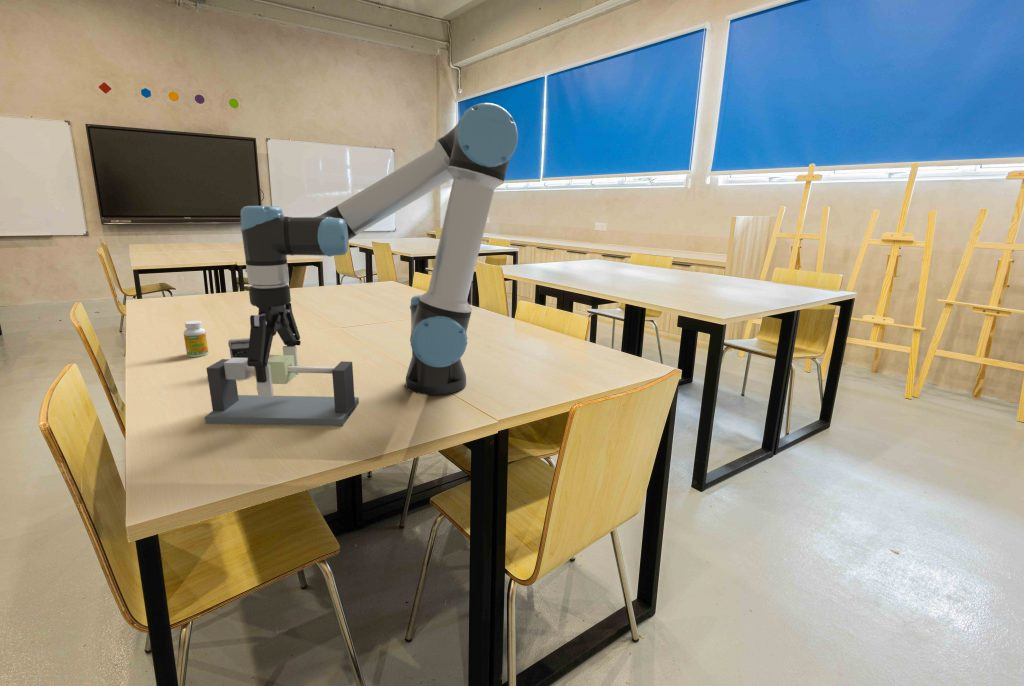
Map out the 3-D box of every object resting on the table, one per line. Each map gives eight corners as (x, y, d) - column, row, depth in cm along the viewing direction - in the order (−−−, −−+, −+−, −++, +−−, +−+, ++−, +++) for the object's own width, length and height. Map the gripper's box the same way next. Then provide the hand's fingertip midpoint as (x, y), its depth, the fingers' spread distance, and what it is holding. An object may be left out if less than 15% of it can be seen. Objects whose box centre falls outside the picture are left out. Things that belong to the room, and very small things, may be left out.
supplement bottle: (189, 358, 144) (183, 325, 142) (185, 354, 148) (180, 321, 146) (210, 355, 148) (205, 322, 145) (206, 350, 152) (201, 319, 149)
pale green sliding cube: (295, 376, 111) (293, 355, 109) (286, 384, 106) (284, 362, 105) (272, 375, 111) (270, 354, 109) (262, 383, 106) (259, 361, 105)
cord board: (358, 403, 116) (355, 350, 113) (342, 425, 105) (338, 367, 101) (235, 401, 116) (228, 347, 112) (205, 423, 104) (196, 364, 101)
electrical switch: (271, 366, 140) (267, 334, 137) (271, 373, 136) (267, 341, 132) (233, 369, 137) (228, 337, 133) (231, 377, 132) (226, 344, 129)
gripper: (276, 275, 114) (285, 365, 120) (217, 295, 91) (232, 406, 97) (310, 276, 115) (317, 366, 121) (259, 296, 91) (272, 407, 97)
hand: (279, 384), depth 109 cm, fingers open, 12 cm apart
